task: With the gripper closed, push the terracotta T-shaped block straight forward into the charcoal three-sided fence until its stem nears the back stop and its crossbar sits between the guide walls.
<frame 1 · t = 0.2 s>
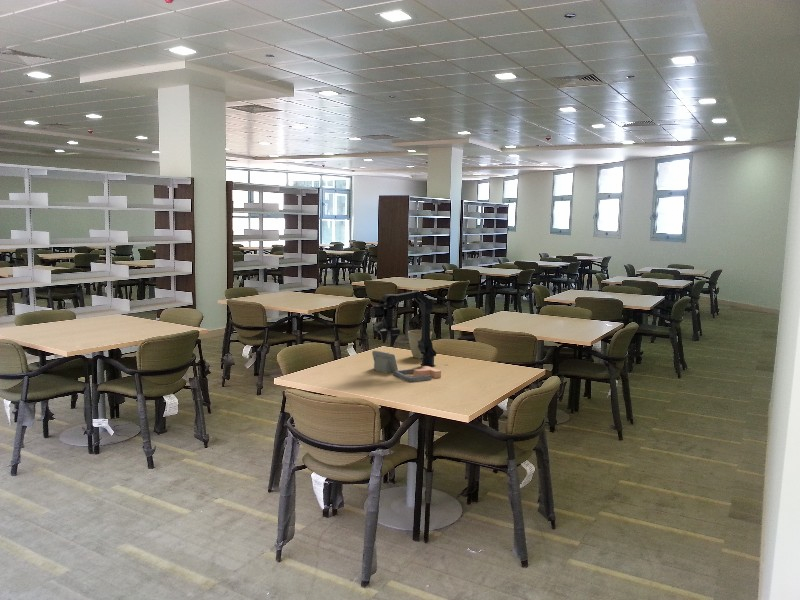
hand: (387, 344, 355), 14 cm above the table, tool pointing down, fingers open, 9 cm apart
plant pot: (419, 357, 394), on the table
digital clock: (384, 370, 356), on the table
fence: (412, 377, 342), on the table
t block: (425, 375, 347), on the table
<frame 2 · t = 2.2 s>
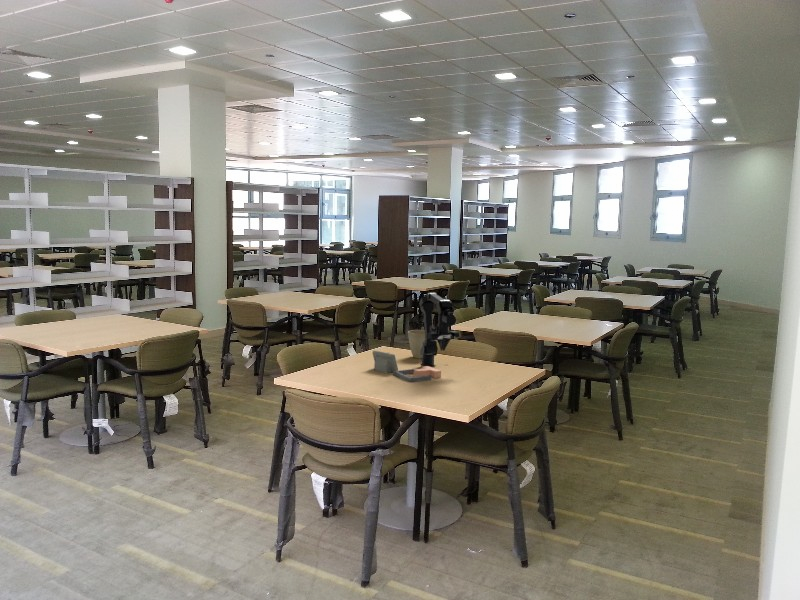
hand: (442, 350, 351), 13 cm above the table, tool pointing down, fingers closed
nothing on the table moved.
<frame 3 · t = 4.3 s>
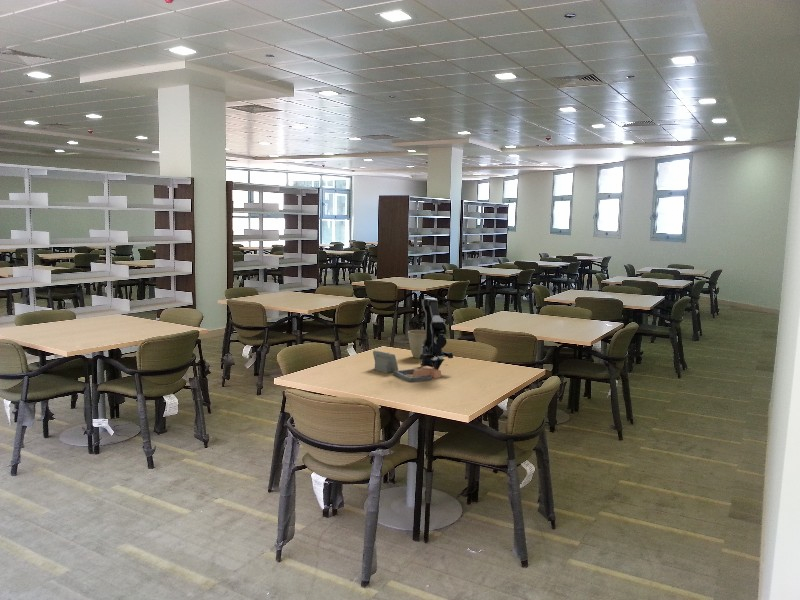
hand: (436, 371, 350), 2 cm above the table, tool pointing down, fingers closed
t block: (425, 375, 346), on the table, touching gripper
everything else where it was.
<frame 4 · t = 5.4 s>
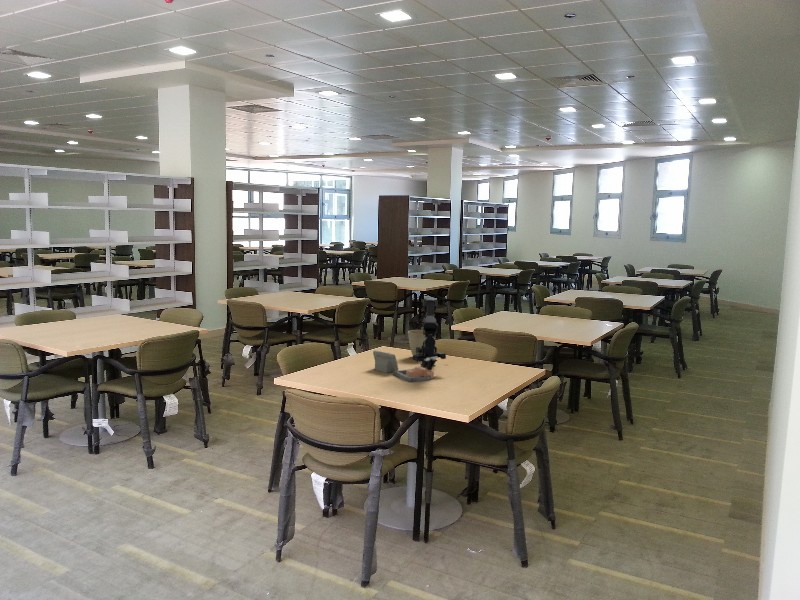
hand: (428, 372, 347), 2 cm above the table, tool pointing down, fingers closed
t block: (417, 376, 344), on the table, touching gripper
everything else where it was.
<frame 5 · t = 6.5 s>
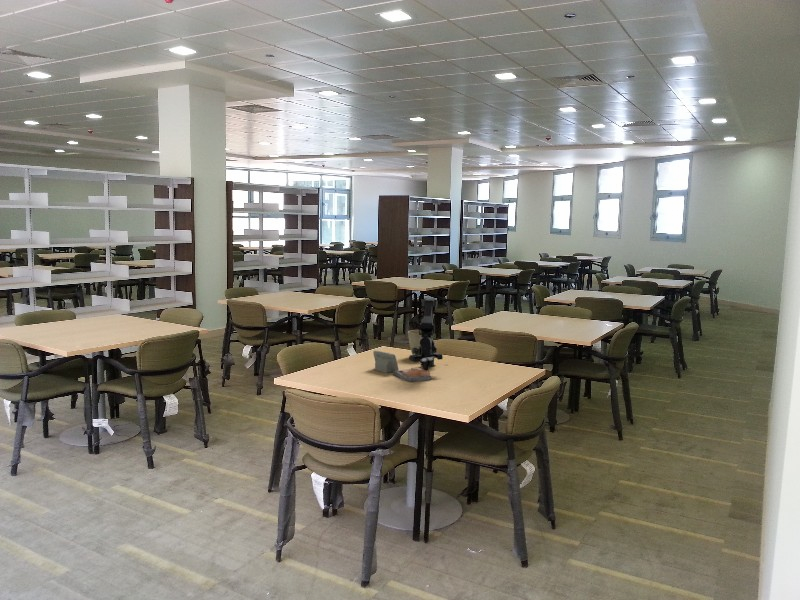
hand: (425, 372, 346), 2 cm above the table, tool pointing down, fingers closed
t block: (414, 376, 343), on the table, touching gripper
everything else where it was.
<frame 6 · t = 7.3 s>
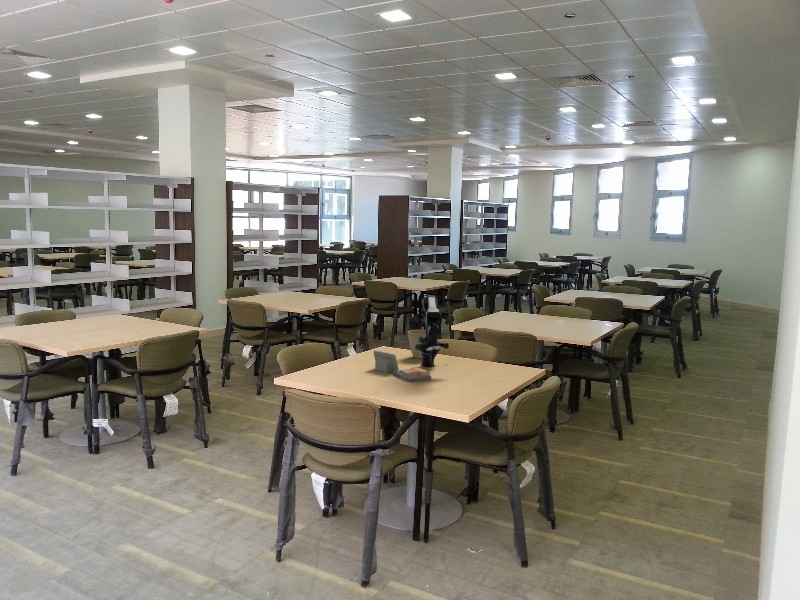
hand: (431, 361, 347), 7 cm above the table, tool pointing down, fingers closed
t block: (414, 377, 343), on the table
everything else where it was.
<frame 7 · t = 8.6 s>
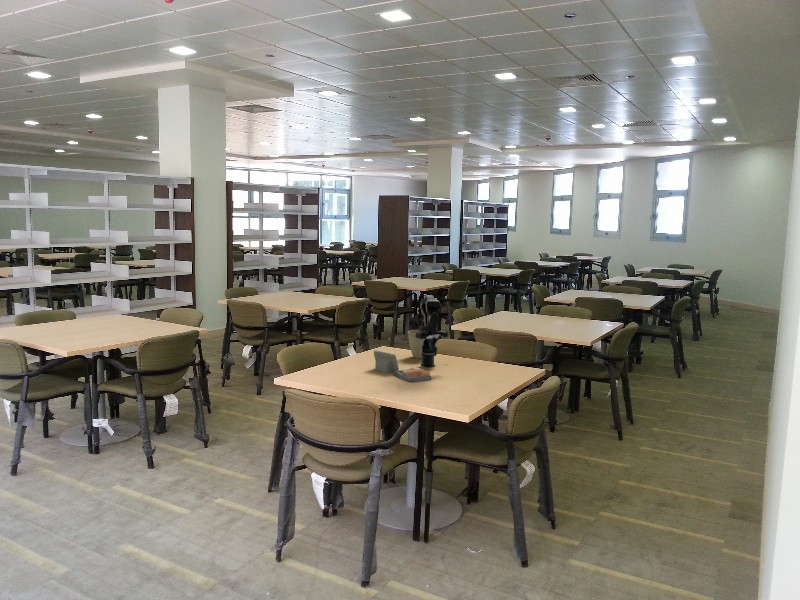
hand: (431, 349, 356), 12 cm above the table, tool pointing down, fingers closed
nothing on the table moved.
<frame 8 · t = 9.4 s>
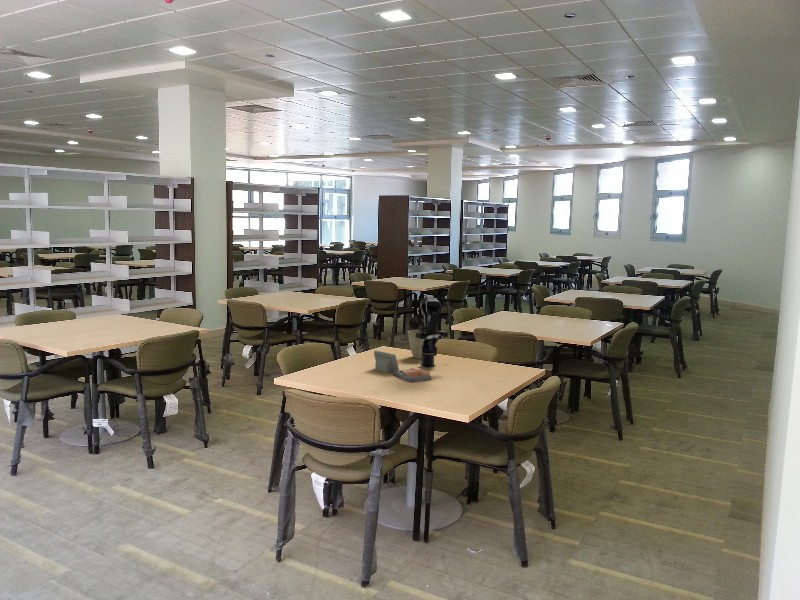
hand: (431, 349, 356), 12 cm above the table, tool pointing down, fingers closed
nothing on the table moved.
at the end: t block 0.5 cm from the target spot on the fence, point 0.0 cm above the fence's base; t block tilted 0° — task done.
